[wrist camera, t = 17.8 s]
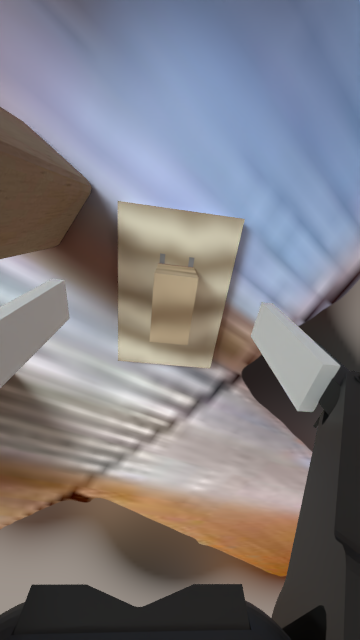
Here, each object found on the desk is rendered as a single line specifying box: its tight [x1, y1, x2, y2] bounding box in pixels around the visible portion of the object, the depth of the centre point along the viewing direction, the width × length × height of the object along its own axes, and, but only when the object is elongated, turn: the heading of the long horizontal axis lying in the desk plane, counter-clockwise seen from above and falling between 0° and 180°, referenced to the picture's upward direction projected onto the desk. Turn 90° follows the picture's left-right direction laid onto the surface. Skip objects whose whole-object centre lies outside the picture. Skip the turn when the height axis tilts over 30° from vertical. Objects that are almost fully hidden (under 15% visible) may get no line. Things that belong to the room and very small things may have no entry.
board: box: [118, 201, 245, 368], centre depth 32 cm, size 24×16×2 cm, turn 173°
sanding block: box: [149, 263, 198, 345], centre depth 28 cm, size 9×5×6 cm, turn 173°
